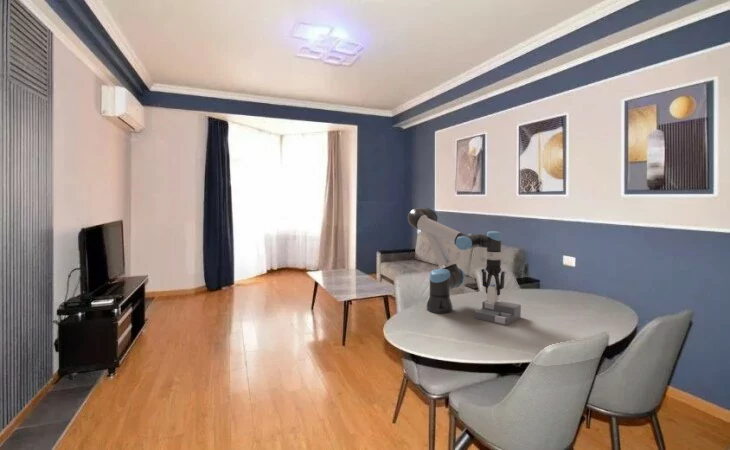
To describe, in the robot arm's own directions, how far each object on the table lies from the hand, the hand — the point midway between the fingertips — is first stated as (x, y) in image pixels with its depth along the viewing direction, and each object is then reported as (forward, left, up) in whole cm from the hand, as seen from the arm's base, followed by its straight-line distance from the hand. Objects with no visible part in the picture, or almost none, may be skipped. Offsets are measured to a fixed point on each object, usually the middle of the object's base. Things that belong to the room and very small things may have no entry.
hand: (492, 299), depth 211 cm
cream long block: (0, 0, -4) cm, 4 cm away
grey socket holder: (+5, -5, -8) cm, 11 cm away
